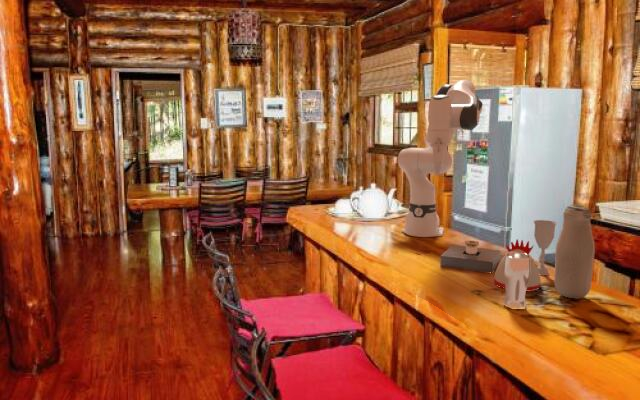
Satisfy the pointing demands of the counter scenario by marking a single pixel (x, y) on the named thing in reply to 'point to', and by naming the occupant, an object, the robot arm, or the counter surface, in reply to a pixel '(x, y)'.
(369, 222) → the counter surface
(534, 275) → the kitchen timer
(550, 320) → the counter surface
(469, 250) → the bushing
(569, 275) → the glass bottle
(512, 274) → the beer glass
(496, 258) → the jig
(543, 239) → the chalice
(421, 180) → the robot arm
